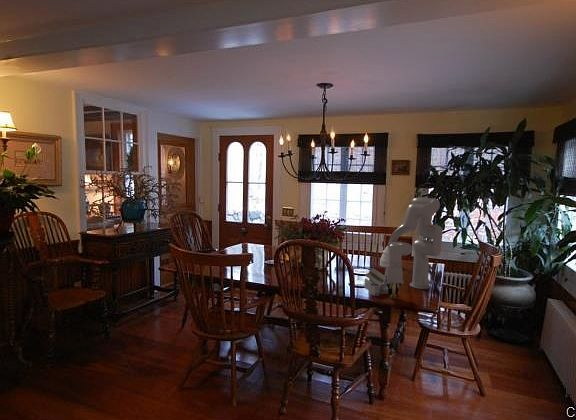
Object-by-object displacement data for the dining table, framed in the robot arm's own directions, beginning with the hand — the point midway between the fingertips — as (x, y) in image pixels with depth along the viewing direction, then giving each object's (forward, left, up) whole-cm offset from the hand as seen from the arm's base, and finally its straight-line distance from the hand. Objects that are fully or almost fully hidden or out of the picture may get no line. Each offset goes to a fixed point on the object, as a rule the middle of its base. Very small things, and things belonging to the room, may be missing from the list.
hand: (392, 293), depth 224 cm
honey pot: (-36, -72, -3) cm, 80 cm away
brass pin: (0, 0, -2) cm, 2 cm away
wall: (-3, -25, -3) cm, 26 cm away
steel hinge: (+3, -13, -2) cm, 13 cm away
